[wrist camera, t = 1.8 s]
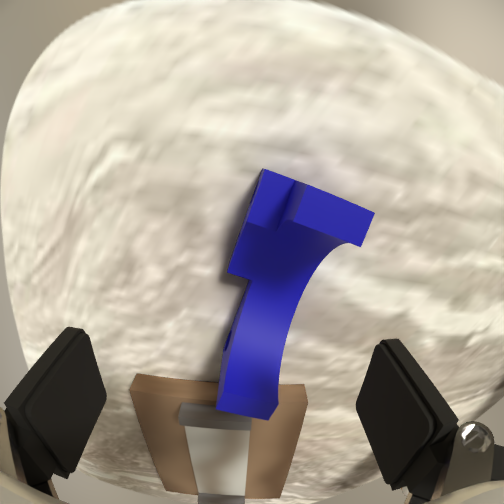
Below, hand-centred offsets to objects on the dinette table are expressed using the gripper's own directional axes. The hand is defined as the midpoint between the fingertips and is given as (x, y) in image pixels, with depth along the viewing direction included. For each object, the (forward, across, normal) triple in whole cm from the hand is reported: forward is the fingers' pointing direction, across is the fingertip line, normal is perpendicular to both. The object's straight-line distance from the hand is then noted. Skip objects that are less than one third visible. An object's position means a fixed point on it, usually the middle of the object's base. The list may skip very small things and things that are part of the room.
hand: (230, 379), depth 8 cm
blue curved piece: (+10, -2, 0) cm, 10 cm away
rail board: (+10, +1, +18) cm, 21 cm away
